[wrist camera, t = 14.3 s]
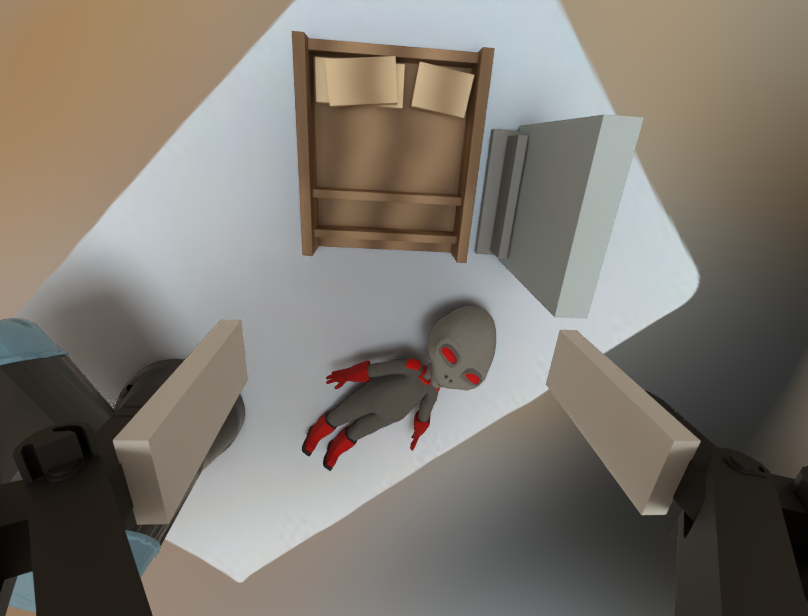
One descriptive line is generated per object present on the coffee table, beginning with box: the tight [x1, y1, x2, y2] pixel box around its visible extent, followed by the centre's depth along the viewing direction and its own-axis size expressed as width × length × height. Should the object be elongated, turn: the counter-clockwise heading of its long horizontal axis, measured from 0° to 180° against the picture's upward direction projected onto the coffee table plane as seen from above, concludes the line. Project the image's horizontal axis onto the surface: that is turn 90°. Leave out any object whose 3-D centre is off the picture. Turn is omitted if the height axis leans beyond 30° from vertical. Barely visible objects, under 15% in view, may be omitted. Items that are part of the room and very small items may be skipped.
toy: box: [302, 306, 496, 471], centre depth 49 cm, size 16×10×30 cm
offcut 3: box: [410, 62, 474, 120], centre depth 35 cm, size 5×4×3 cm
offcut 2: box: [325, 56, 398, 108], centre depth 33 cm, size 6×4×2 cm, turn 92°
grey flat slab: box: [498, 115, 643, 318], centre depth 34 cm, size 14×3×16 cm, turn 176°
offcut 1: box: [315, 57, 405, 110], centre depth 35 cm, size 8×4×2 cm, turn 86°
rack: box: [292, 31, 495, 263], centre depth 37 cm, size 17×19×5 cm
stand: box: [475, 129, 528, 259], centre depth 40 cm, size 13×8×4 cm, turn 177°
